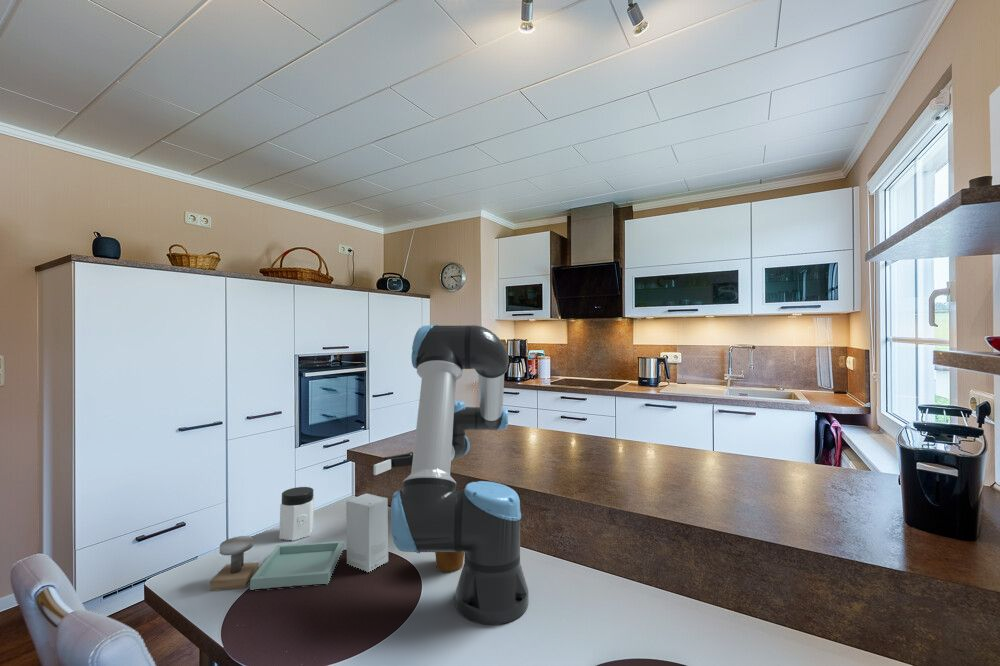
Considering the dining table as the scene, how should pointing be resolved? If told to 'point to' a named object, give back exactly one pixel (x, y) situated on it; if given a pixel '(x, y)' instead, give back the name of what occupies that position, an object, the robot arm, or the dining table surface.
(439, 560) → the disposable coffee cup
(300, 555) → the tray
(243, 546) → the mushroom shaped stand
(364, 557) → the skincare box
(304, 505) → the jar
